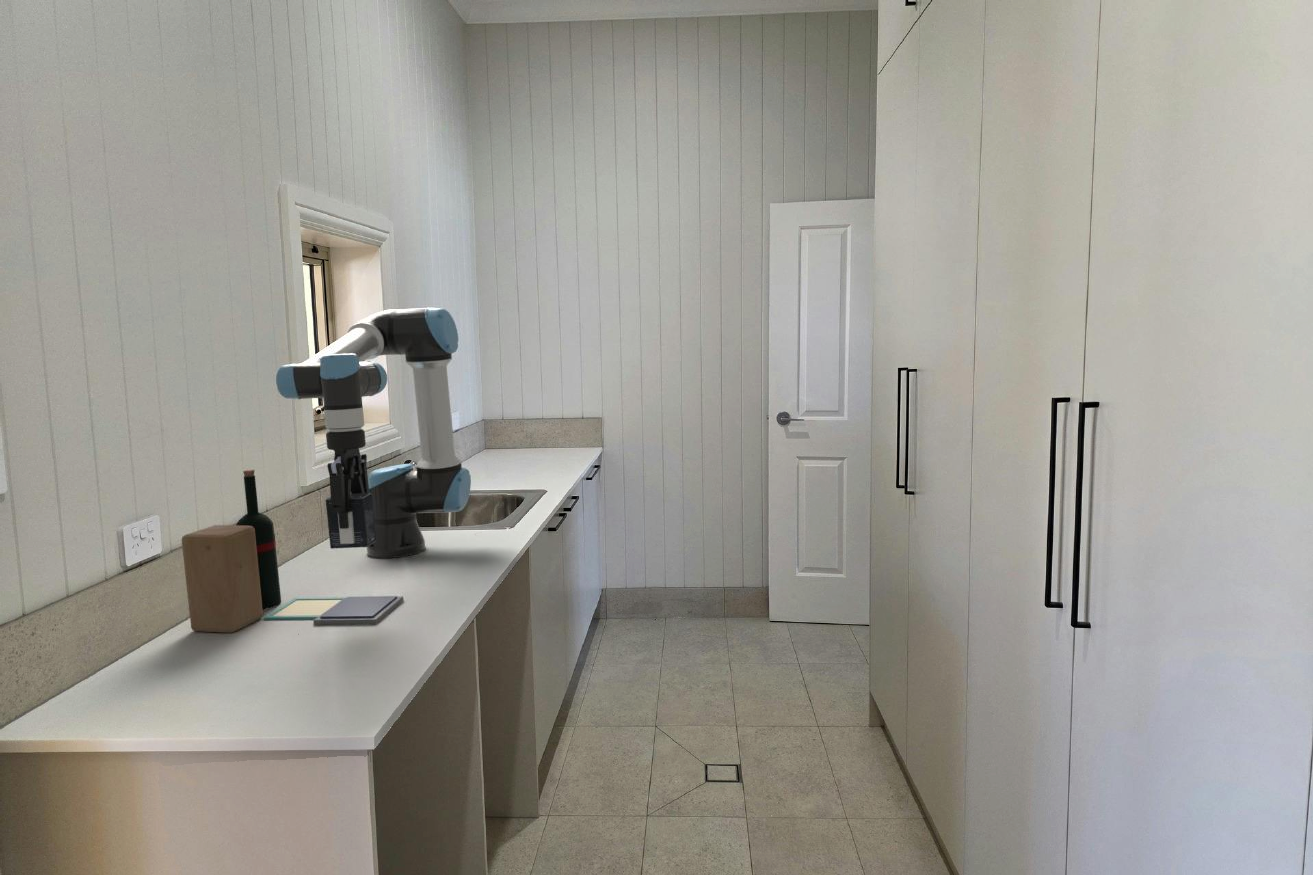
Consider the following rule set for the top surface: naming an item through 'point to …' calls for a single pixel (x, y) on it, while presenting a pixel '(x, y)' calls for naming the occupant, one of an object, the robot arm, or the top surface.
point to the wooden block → (222, 578)
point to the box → (354, 522)
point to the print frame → (303, 608)
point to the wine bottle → (262, 544)
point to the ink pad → (359, 610)
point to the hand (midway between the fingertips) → (354, 539)
